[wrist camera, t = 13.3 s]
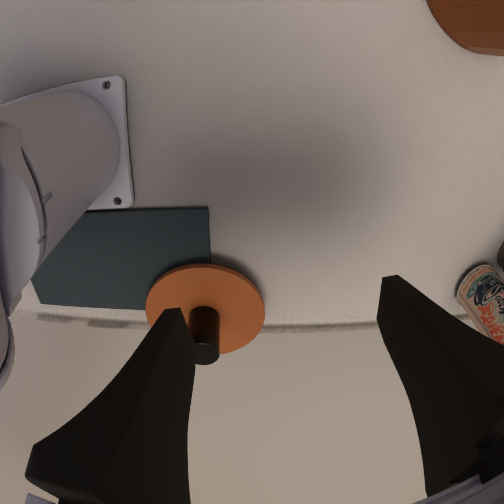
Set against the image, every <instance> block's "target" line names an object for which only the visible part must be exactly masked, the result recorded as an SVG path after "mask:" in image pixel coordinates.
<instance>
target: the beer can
mask: <svg viewBox="0 0 504 504" xmlns="http://www.w3.org/2000/svg"><path fill="white" fill-rule="evenodd" d="M457 301H458V303H459V304H461V305H462V307H463V308H464V310H465V311H466V312H467V314H468V315H469V317H470V318H471V320H472V321H473V323H474V324H475V326H476V327H477V329H478V330H479V332H480V333H481V334H483V335H485V336H487V337H489V338H491V339H492V340H495V341H497V342H499V343H501V344H503V345H504V280H503V279H502V278H501V277H500V275H499V274H498V273H497V272H496V271H495V270H494V269H493V268H492V266H490V265H480V266H478V267H476V268H474V269H473V270H472V271H470V272H469V273H468V274H467V275H466V276H465V278H464V279H463V280H462V282H461V284H460V286H459V289H458V292H457Z"/></svg>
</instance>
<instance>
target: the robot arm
mask: <svg viewBox="0 0 504 504" xmlns="http://www.w3.org/2000/svg"><path fill="white" fill-rule="evenodd" d="M107 81H110V83H111V86H110V88H109V89H107V88H105V83H106V82H107ZM116 197H119V198H120V199H121V202H120V203H119V202H117V201H116ZM133 202H134V193H133V184H132V176H131V166H130V156H129V144H128V131H127V115H126V93H125V79H124V78H123V77H122V76H120V75H112V76H106V77H101V78H95V79H90V80H85V81H81V82H76V83H71V84H67V85H63V86H59V87H55V88H51V89H47V90H44V91H40V92H37V93H33V94H30V95H27V96H23V97H20V98H17V99H14V100H11V101H8V102H5V103H3V104H1V105H0V391H1V390H2V388H3V387H4V385H5V384H6V382H7V379H8V377H9V375H10V373H11V369H12V366H13V362H14V353H15V344H14V336H13V331H12V327H11V323H10V321H9V319H8V317H9V316H10V315H11V313H12V312H13V310H14V309H15V307H16V306H17V304H18V303H19V301H20V300H21V291H22V289H23V288H24V287H25V285H26V284H27V283H28V282H29V280H30V279H31V277H32V276H33V275H34V273H35V272H36V271H37V269H38V268H39V267H40V265H41V264H42V263H43V261H44V260H45V259H46V258H47V256H48V255H49V254H50V253H51V251H52V250H53V249H54V248H55V246H56V245H57V244H58V243H59V241H60V240H61V239H62V238H63V237H64V236H65V234H66V233H67V232H68V231H69V230H70V228H71V227H72V226H73V225H74V224H75V223H76V222H77V220H78V219H79V218H80V217H81V216H82V215H83V214H84V213H85V211H86V210H95V209H116V208H128V207H130V206H131V205H132V204H133ZM6 314H7V315H6ZM7 316H8V317H7ZM377 322H378V325H379V328H380V332H381V335H382V338H383V341H384V343H385V345H386V348H387V350H388V352H389V354H390V356H391V359H392V360H393V363H394V365H395V367H396V370H397V372H398V374H399V376H400V379H401V381H402V383H403V385H404V387H405V390H406V393H407V395H408V398H409V402H410V405H411V409H412V412H413V416H414V419H415V424H416V428H417V433H418V437H419V442H420V448H421V454H422V460H423V467H424V477H425V490H426V494H427V497H428V498H426V499H423V500H420V501H418V502H415V503H412V504H504V345H503V344H501V343H499V342H497V341H495V340H492V339H491V338H489V337H487V336H485V335H483V334H481V333H480V332H478V331H476V330H475V329H473V328H471V327H469V326H468V325H466V324H465V323H463V322H462V321H460V320H459V319H457V318H456V317H454V316H453V315H451V314H450V313H448V312H447V311H446V310H444V309H443V308H441V307H440V306H439V305H437V304H436V303H435V302H433V301H432V300H431V299H429V298H428V297H427V296H425V295H424V294H423V293H421V292H420V291H419V290H417V289H416V288H415V287H414V286H412V285H411V284H410V283H408V282H407V281H406V280H404V279H403V278H401V277H400V276H399V275H393V276H388V277H382V284H381V292H380V299H379V306H378V313H377ZM195 348H196V346H195V343H194V341H193V338H192V336H191V333H190V331H189V328H188V326H187V323H186V321H185V318H184V316H183V313H182V310H181V308H180V307H179V308H170V309H164V310H163V312H162V313H161V315H160V316H159V317H158V319H157V320H156V322H155V323H154V325H153V326H152V328H151V329H150V330H149V332H148V333H147V335H146V336H145V338H144V339H143V341H142V342H141V343H140V345H139V346H138V348H137V349H136V350H135V352H134V353H133V355H132V356H131V357H130V359H129V360H128V361H127V363H126V364H125V365H124V366H123V368H122V369H121V370H120V372H119V373H118V374H117V375H116V376H115V378H114V379H113V380H112V381H111V382H110V383H109V384H108V385H107V386H106V387H105V389H104V390H103V391H102V392H101V393H100V394H99V395H98V396H97V397H96V398H95V399H94V400H93V401H91V402H90V403H89V404H88V405H87V406H86V407H85V408H84V409H83V410H82V411H81V412H80V413H78V414H77V415H76V416H75V417H73V418H72V419H71V420H70V421H69V422H67V423H66V424H65V425H63V426H62V427H61V428H59V429H58V430H56V431H55V432H53V433H52V434H50V435H49V436H47V437H46V438H44V439H43V440H41V441H39V442H38V443H36V444H34V445H33V448H32V451H31V455H30V458H29V461H28V465H27V468H26V472H25V477H26V479H27V480H28V481H29V482H31V483H32V484H34V485H35V486H37V487H39V488H40V489H42V490H44V491H46V492H48V493H49V494H51V495H53V496H55V497H57V498H59V502H58V504H191V502H190V492H189V479H188V454H187V434H188V433H187V432H188V420H189V413H190V405H191V398H192V391H193V383H194V376H195ZM25 504H55V503H53V502H51V501H48V500H45V499H42V498H40V497H38V496H35V495H33V494H30V493H28V494H27V497H26V501H25Z"/></svg>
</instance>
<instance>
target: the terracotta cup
mask: <svg viewBox="0 0 504 504" xmlns="http://www.w3.org/2000/svg"><path fill="white" fill-rule="evenodd" d="M427 2H428V5H429V7H430V9H431V11H432V13H433V15H434V17H435V18H436V20H437V21H438V23H439V24H440V26H441V27H442V28H443V30H444V31H445V32H446V33H447V34H448V35H449V36H450V37H451V38H452V39H453V40H454V41H455V42H456V43H458V44H459V45H460V46H462V47H463V48H465V49H467V50H469V51H472V52H476V53H479V54H487V55H497V56H504V0H427Z"/></svg>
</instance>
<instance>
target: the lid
mask: <svg viewBox="0 0 504 504" xmlns="http://www.w3.org/2000/svg"><path fill="white" fill-rule="evenodd" d="M179 307H180V308H181V310H182V313H183V316H184V318H185V321H186V323H187V326H188V328H189V331H190V333H191V336H192V338H193V341H194V343H195V346H196V348H195V364H198V365H209V364H212V363H214V362H215V361H217V359H218V358H219V355H220V354H224V353H228V352H232V351H234V350H237V349H239V348H241V347H243V346H245V345H246V344H248V343H249V342H251V341H252V340H253V339H254V338H255V337H256V335H258V333H259V331H260V330H261V328H262V326H263V323H264V319H265V309H264V303H263V299H262V297H261V295H260V293H259V291H258V290H257V288H256V287H255V286H254V285H253V284H252V282H251V281H249V280H248V279H247V278H246V277H244V276H243V275H241V274H240V273H238V272H236V271H234V270H231V269H229V268H226V267H223V266H219V265H214V264H189V265H184V266H180V267H177V268H175V269H172V270H170V271H168V272H166V273H165V274H163V275H162V276H161V277H159V278H158V279H157V280H156V281H155V283H154V284H153V285H152V287H151V289H150V291H149V293H148V296H147V300H146V307H145V308H146V315H147V319H148V321H149V324H150V326H151V327H152V326H153V325H154V323H155V322H156V320H157V319H158V317H159V316H160V315H161V313H162V312H163V310H164V309H170V308H179Z"/></svg>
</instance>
